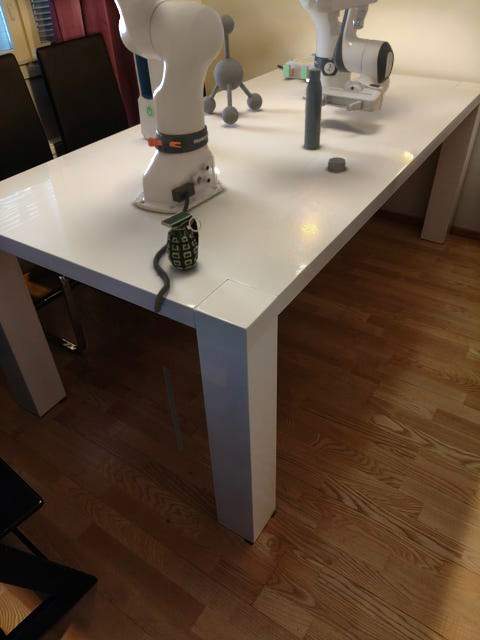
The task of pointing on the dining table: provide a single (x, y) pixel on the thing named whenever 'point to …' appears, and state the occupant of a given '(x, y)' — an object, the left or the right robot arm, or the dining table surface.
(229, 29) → the molecular model
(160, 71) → the electronic device
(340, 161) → the cap
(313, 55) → the decorative block
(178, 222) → the grenade
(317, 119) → the bottle
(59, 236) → the dining table surface
